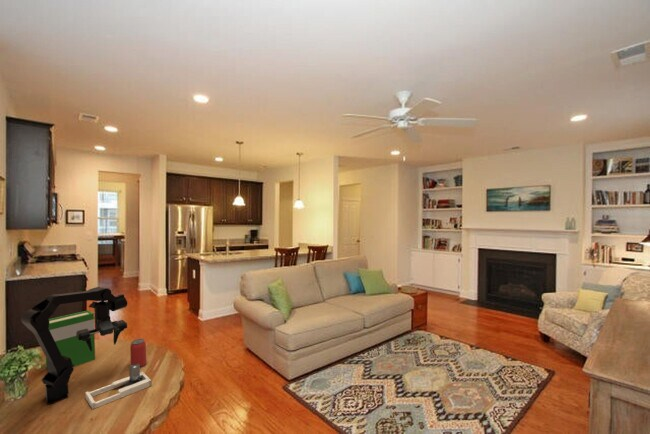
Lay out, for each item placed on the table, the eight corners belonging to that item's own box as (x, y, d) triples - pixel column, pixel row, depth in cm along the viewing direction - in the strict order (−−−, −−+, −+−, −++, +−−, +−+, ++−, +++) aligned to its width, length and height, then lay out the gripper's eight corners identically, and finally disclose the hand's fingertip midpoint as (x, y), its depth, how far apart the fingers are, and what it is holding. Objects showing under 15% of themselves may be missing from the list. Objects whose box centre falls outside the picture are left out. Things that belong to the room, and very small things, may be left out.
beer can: (134, 370, 153) (133, 345, 153) (128, 365, 157) (127, 341, 157) (148, 364, 159) (148, 340, 158) (142, 360, 163) (142, 337, 162)
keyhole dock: (92, 409, 125) (92, 403, 124) (85, 397, 132) (85, 392, 132) (151, 385, 141) (151, 380, 141) (142, 376, 148) (142, 371, 148)
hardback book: (50, 374, 149) (48, 323, 148) (46, 369, 153) (44, 320, 152) (95, 359, 163) (93, 313, 162) (90, 355, 167) (88, 310, 166)
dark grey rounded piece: (128, 392, 136) (128, 371, 135) (123, 386, 140) (122, 366, 140) (146, 385, 141) (146, 365, 140) (140, 379, 146) (140, 360, 145)
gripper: (81, 325, 135) (82, 361, 136) (130, 313, 149) (131, 346, 150) (75, 318, 142) (76, 352, 143) (123, 307, 156) (123, 339, 157)
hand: (103, 347), depth 148 cm, fingers open, 9 cm apart
